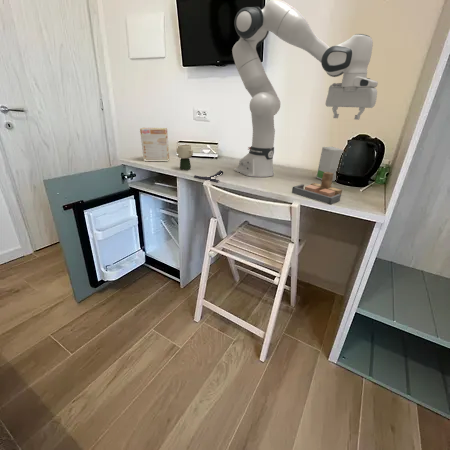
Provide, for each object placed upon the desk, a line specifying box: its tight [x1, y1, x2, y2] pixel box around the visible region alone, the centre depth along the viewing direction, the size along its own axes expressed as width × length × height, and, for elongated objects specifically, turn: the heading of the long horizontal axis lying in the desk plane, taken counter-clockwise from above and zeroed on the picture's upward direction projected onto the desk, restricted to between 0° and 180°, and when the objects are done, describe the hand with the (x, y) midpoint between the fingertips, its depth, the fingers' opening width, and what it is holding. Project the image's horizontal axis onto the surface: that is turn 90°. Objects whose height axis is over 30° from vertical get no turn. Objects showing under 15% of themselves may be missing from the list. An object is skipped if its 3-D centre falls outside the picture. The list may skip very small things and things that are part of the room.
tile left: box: [304, 184, 320, 194], centre depth 111 cm, size 4×4×3 cm
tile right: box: [319, 189, 335, 197], centre depth 107 cm, size 4×4×3 cm
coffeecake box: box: [139, 127, 170, 160], centre depth 160 cm, size 15×7×20 cm, turn 91°
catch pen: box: [291, 183, 342, 205], centre depth 107 cm, size 18×7×2 cm, turn 41°
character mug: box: [176, 144, 194, 170], centre depth 143 cm, size 11×7×13 cm, turn 59°
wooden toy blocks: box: [309, 172, 343, 196], centre depth 110 cm, size 13×3×9 cm, turn 41°
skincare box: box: [316, 146, 344, 182], centre depth 129 cm, size 8×7×16 cm
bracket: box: [193, 170, 224, 183], centre depth 132 cm, size 14×15×3 cm
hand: (345, 118), depth 113 cm, fingers open, 8 cm apart
